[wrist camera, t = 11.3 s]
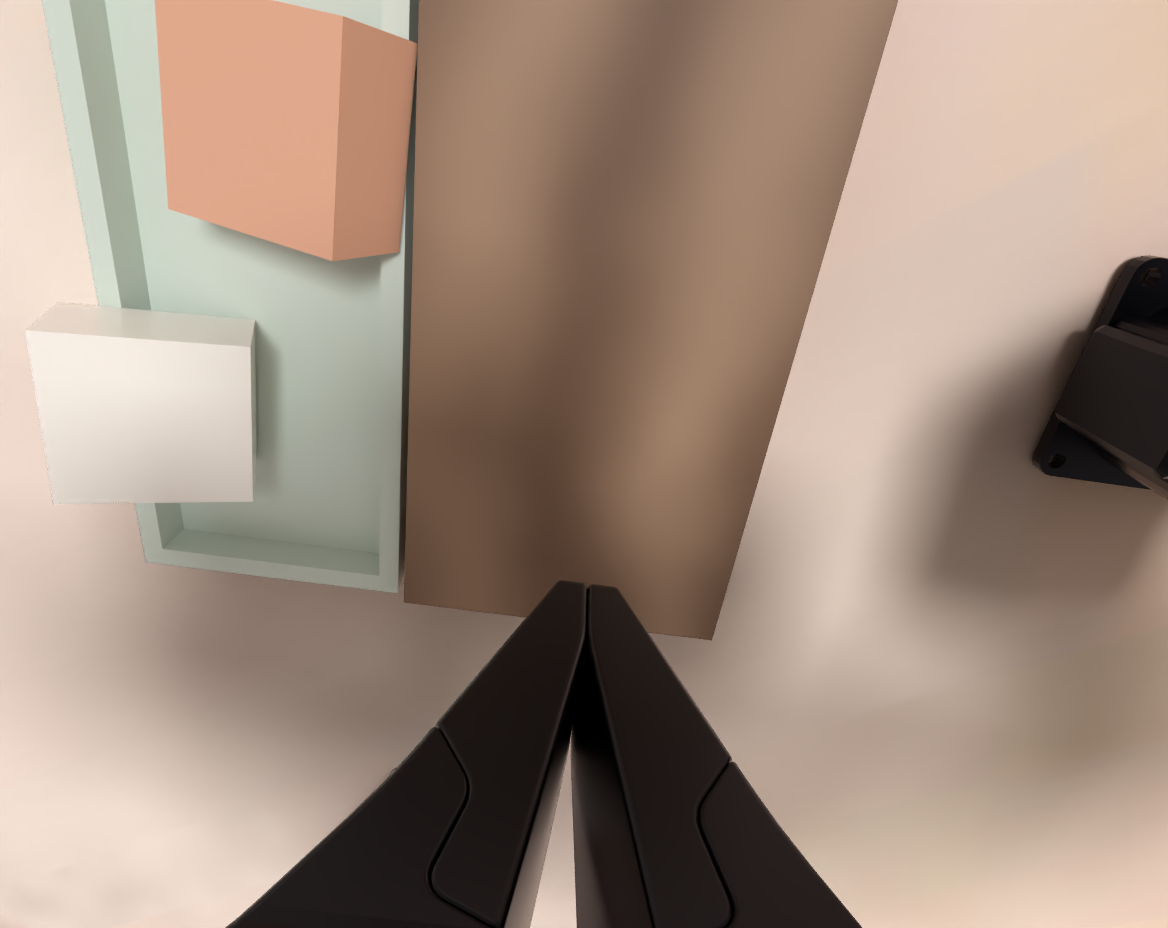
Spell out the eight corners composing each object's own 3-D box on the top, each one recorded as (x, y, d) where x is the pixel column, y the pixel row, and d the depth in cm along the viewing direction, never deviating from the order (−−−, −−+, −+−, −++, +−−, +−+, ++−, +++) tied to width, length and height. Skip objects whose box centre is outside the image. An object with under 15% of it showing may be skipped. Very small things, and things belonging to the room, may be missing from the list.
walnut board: (902, -124, 14) (945, -163, 13) (702, 601, 23) (711, 640, 21) (447, -206, 14) (425, -259, 12) (419, 566, 23) (403, 602, 21)
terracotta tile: (417, 43, 14) (343, 16, 12) (399, 252, 16) (332, 261, 14) (250, 5, 15) (153, -27, 13) (252, 207, 17) (168, 209, 15)
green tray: (433, -209, 14) (414, -250, 12) (410, 565, 23) (397, 593, 21) (46, -279, 13) (-19, -330, 12) (175, 535, 22) (145, 562, 21)
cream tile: (24, 330, 15) (57, 302, 17) (52, 504, 16) (79, 459, 18) (250, 347, 16) (255, 319, 18) (252, 501, 18) (256, 461, 20)
